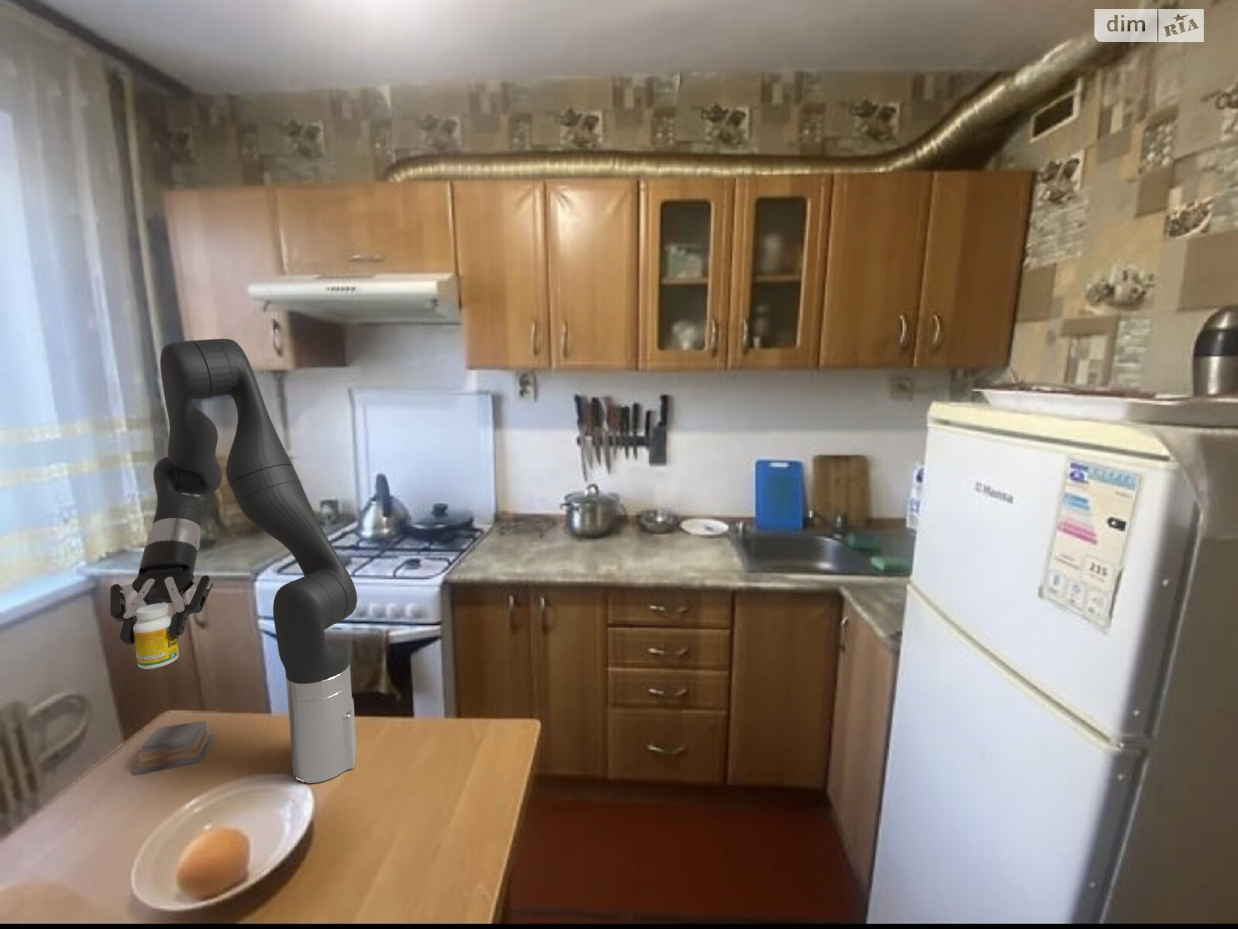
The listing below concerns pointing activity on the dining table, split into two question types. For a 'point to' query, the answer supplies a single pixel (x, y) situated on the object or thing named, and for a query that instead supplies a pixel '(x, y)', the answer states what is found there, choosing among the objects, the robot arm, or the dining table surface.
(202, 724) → the offcut stack
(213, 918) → the dining table surface
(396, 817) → the dining table surface
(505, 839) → the dining table surface
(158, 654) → the supplement bottle
